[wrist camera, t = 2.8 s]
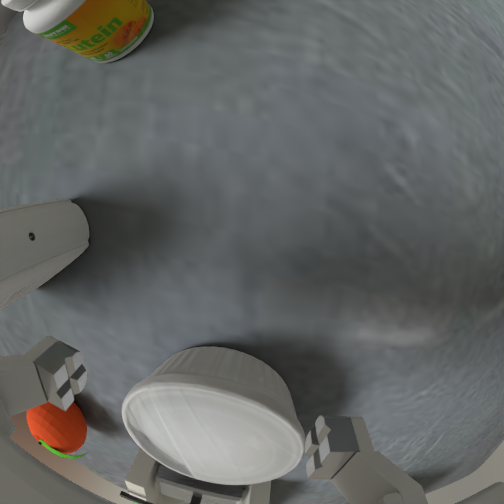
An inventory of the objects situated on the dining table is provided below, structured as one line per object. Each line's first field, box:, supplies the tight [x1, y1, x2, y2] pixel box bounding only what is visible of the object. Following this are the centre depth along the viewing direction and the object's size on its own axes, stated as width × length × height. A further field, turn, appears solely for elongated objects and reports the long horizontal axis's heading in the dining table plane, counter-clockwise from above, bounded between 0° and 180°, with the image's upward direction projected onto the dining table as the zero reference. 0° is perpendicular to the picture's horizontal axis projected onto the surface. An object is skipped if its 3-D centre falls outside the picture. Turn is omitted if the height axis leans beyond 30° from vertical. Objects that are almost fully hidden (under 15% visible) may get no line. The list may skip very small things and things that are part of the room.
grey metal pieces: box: [120, 464, 244, 504], centre depth 18 cm, size 15×10×6 cm
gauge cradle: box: [125, 447, 271, 504], centre depth 20 cm, size 14×13×5 cm
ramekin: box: [122, 346, 305, 485], centre depth 15 cm, size 11×11×5 cm
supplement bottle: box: [2, 0, 154, 63], centre depth 7 cm, size 5×5×10 cm
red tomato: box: [27, 401, 87, 458], centre depth 17 cm, size 8×7×7 cm
